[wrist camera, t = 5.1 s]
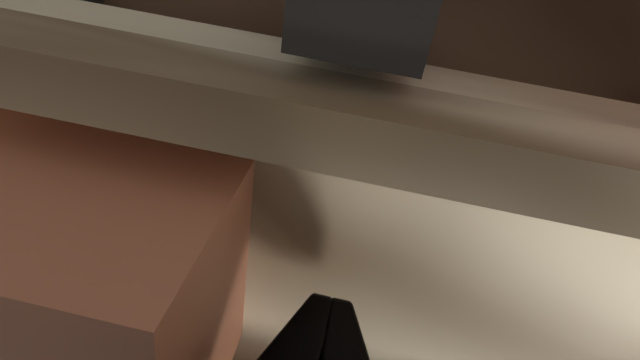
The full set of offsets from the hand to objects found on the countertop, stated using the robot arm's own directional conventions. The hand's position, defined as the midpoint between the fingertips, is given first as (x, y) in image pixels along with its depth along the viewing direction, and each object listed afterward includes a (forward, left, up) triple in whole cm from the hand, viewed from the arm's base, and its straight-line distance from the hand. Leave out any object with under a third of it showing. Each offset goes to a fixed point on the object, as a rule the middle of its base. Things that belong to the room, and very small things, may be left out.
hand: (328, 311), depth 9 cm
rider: (0, +4, -1) cm, 4 cm away
